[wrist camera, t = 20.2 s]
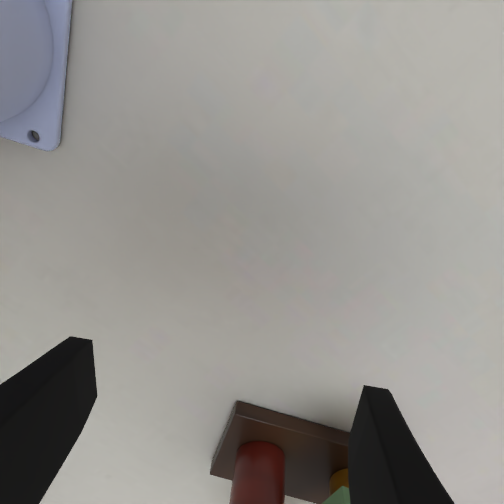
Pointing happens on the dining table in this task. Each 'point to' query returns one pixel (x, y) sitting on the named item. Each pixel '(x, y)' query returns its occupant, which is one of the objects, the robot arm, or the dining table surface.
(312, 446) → the rod stand
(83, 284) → the dining table surface
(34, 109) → the robot arm
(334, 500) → the bar
